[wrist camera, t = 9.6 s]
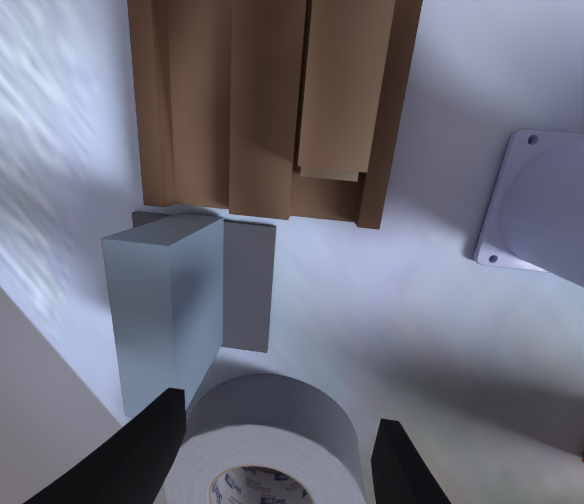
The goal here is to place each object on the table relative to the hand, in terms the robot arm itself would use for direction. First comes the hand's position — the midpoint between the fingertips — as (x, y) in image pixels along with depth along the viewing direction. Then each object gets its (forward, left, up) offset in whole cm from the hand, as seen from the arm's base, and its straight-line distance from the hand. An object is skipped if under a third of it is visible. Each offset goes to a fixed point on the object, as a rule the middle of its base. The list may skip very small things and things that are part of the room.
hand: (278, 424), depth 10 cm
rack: (+3, -13, -10) cm, 17 cm away
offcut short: (-1, -12, -7) cm, 14 cm away
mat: (+7, 0, -10) cm, 13 cm away
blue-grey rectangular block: (+7, 0, -10) cm, 12 cm away
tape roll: (+1, +15, -11) cm, 19 cm away
